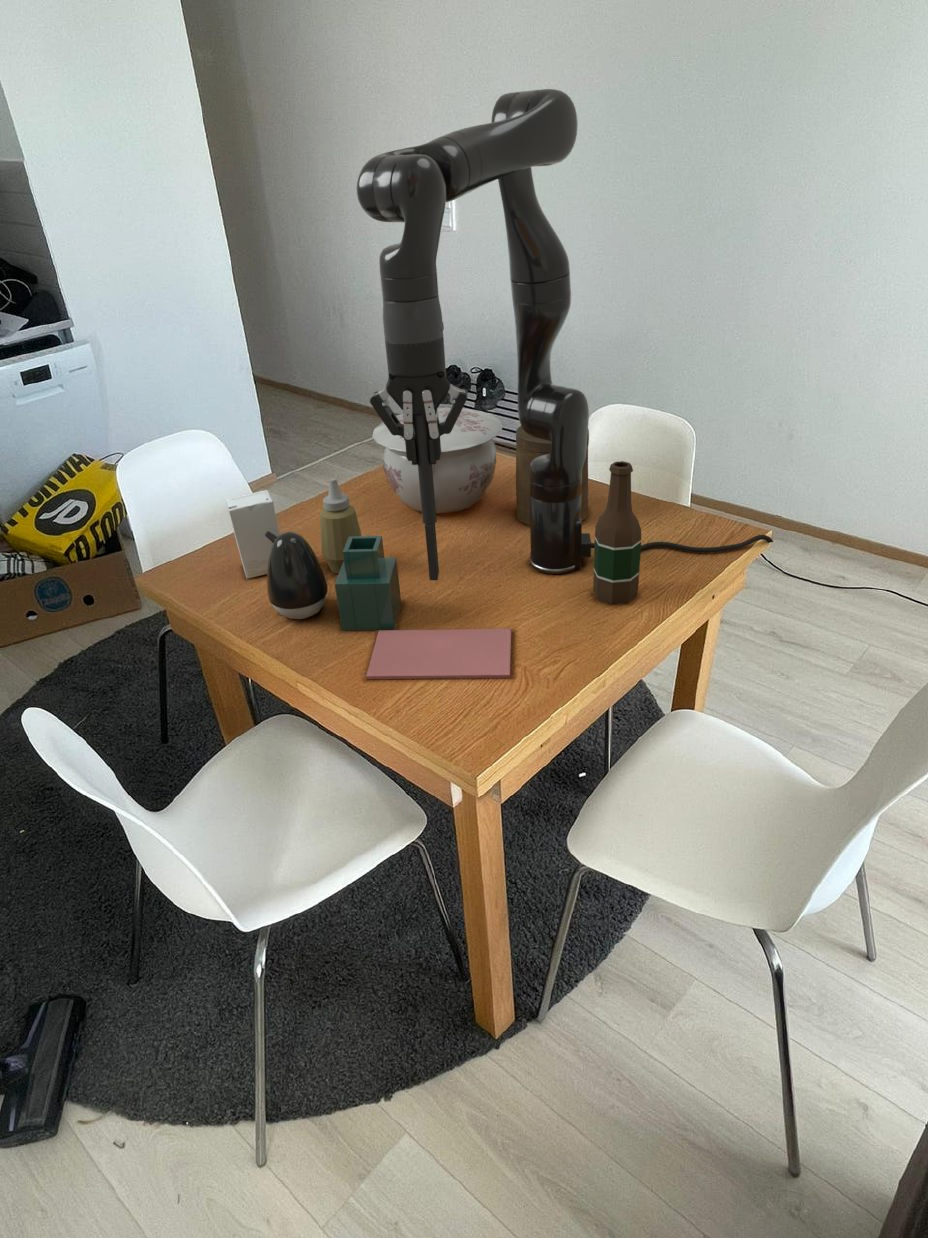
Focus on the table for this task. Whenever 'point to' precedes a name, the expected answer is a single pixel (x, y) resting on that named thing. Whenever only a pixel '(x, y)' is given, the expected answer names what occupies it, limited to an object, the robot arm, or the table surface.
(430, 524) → the stepped grey rod
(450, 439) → the chamber pot
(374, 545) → the green square vase
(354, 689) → the table surface
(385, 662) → the place mat
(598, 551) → the beer bottle
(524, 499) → the wooden container
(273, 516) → the cosmetic box
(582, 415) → the robot arm
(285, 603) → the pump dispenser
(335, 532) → the squeeze bottle
